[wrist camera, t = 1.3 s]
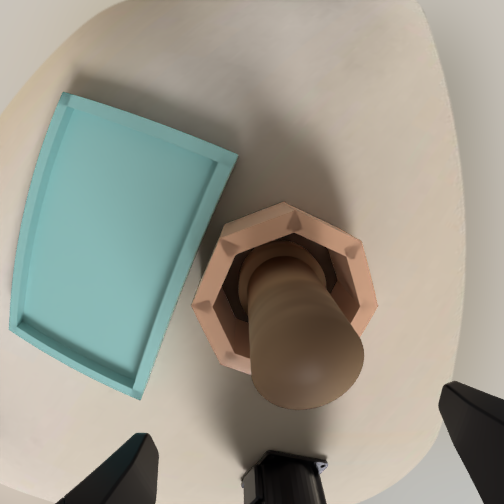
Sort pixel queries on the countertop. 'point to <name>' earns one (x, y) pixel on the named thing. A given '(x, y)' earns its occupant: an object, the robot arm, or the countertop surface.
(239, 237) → the mortar
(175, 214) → the tray
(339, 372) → the pestle
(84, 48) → the countertop surface
